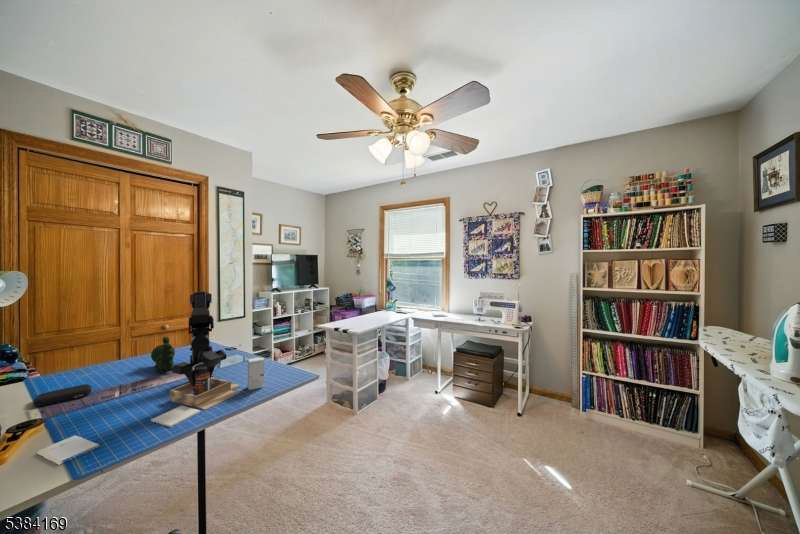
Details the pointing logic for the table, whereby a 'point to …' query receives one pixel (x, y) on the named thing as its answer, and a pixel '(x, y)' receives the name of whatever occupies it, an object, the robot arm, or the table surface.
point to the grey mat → (175, 416)
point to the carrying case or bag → (62, 395)
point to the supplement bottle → (201, 381)
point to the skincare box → (255, 373)
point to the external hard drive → (71, 447)
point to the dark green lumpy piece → (163, 356)
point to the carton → (204, 394)
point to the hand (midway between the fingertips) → (201, 382)
